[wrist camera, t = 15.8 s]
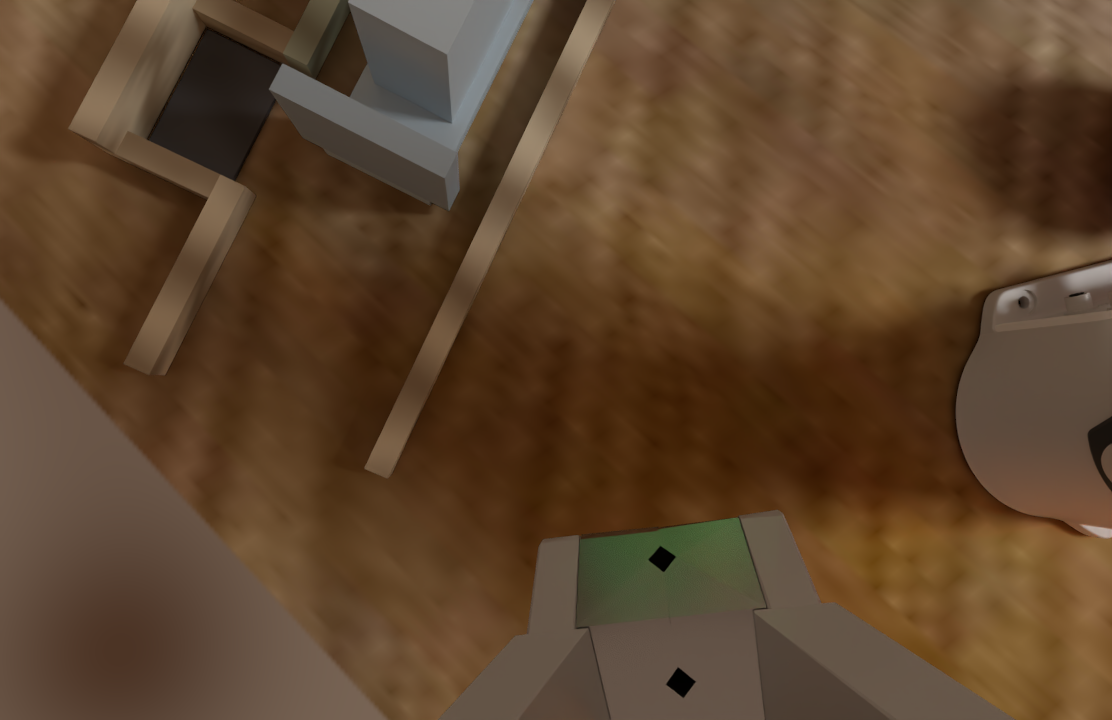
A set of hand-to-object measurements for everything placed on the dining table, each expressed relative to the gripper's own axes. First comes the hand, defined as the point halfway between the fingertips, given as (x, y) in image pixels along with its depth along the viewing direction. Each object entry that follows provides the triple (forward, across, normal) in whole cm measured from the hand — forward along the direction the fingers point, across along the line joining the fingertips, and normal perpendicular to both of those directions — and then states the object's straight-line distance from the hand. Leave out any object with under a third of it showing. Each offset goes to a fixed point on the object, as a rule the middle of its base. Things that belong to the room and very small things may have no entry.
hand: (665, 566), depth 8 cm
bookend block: (+39, +9, -9) cm, 41 cm away
